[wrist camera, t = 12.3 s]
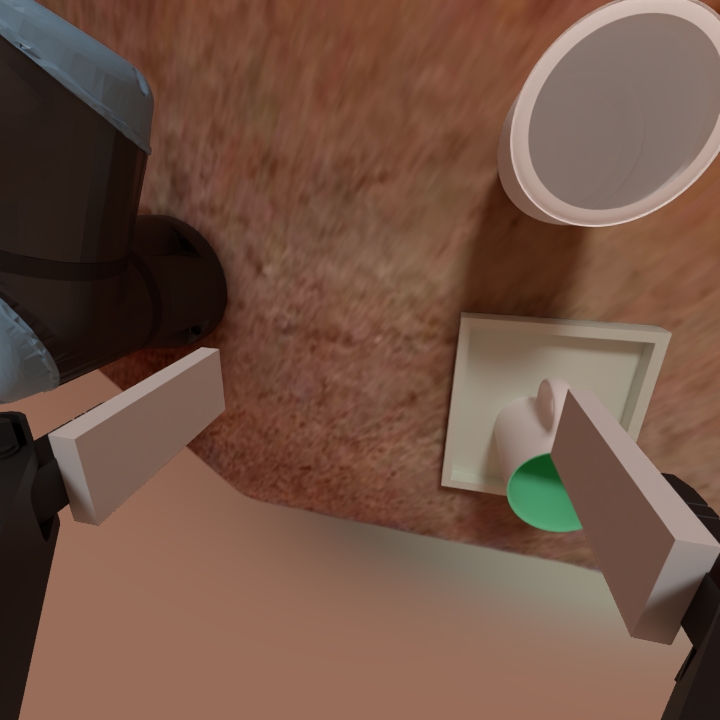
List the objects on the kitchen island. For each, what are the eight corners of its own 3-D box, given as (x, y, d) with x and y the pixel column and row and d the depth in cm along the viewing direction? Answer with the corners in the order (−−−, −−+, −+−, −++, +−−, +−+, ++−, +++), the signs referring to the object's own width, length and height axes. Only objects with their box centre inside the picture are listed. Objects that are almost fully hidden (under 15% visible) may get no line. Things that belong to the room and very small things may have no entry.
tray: (441, 472, 47) (441, 485, 44) (460, 311, 39) (461, 317, 37) (604, 497, 43) (612, 513, 41) (657, 325, 36) (671, 333, 34)
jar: (525, 246, 36) (570, 265, 22) (464, 151, 34) (472, 108, 21) (643, 167, 32) (787, 131, 18) (580, 55, 30) (686, -77, 17)
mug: (498, 359, 39) (513, 405, 30) (585, 360, 38) (629, 409, 28) (492, 458, 44) (503, 526, 34) (570, 463, 42) (605, 536, 32)
